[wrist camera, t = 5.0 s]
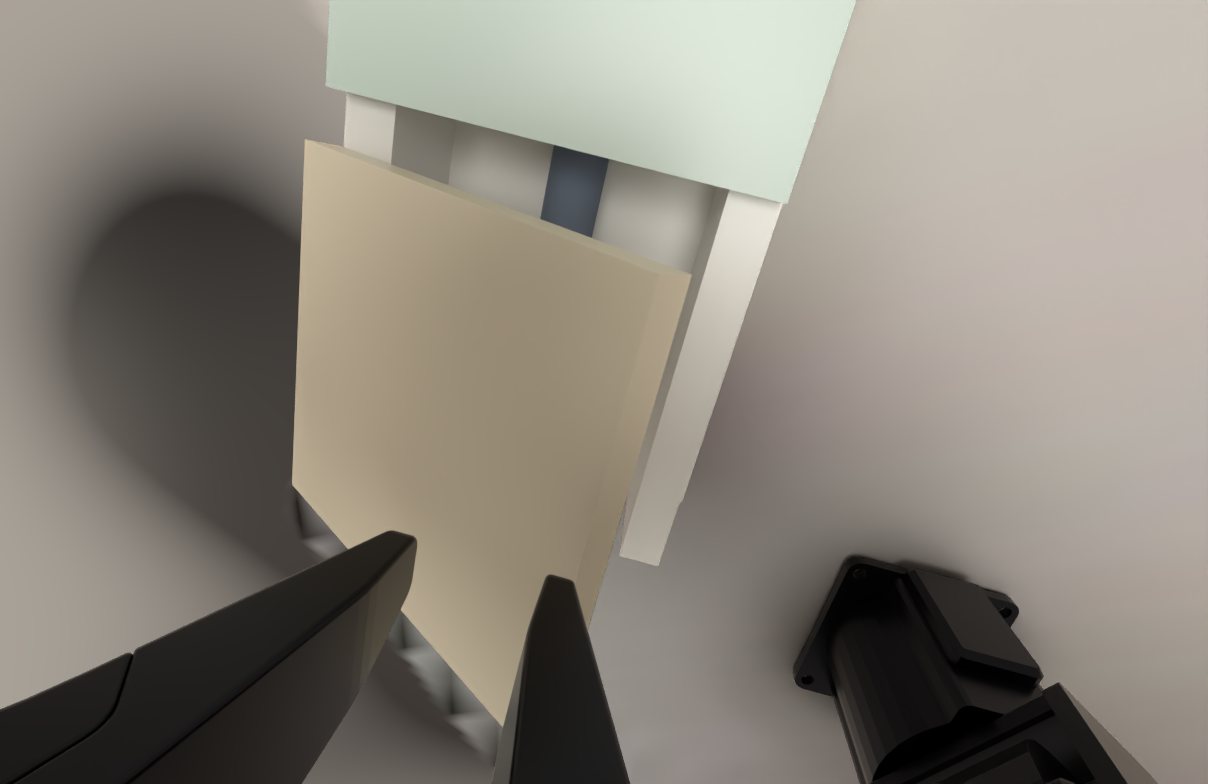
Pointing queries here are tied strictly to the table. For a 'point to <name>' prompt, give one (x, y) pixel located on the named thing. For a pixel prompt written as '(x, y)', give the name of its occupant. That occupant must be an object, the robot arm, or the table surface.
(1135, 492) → the table surface
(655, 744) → the table surface
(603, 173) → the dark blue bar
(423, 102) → the lid outer
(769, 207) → the white tray
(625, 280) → the lid inner
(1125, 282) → the table surface
